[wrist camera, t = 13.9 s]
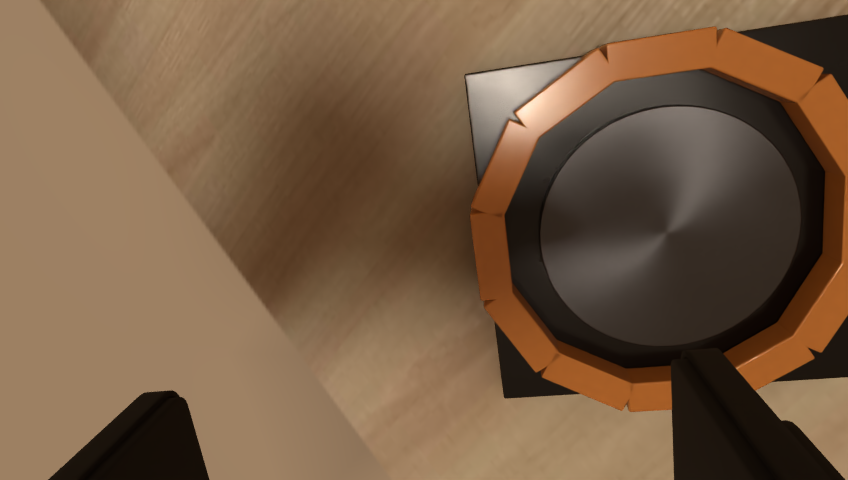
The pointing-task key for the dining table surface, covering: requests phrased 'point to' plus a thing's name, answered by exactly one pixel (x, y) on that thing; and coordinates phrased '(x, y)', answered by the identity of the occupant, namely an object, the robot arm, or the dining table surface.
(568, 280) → the hob
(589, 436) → the dining table surface
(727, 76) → the ring
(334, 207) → the dining table surface
